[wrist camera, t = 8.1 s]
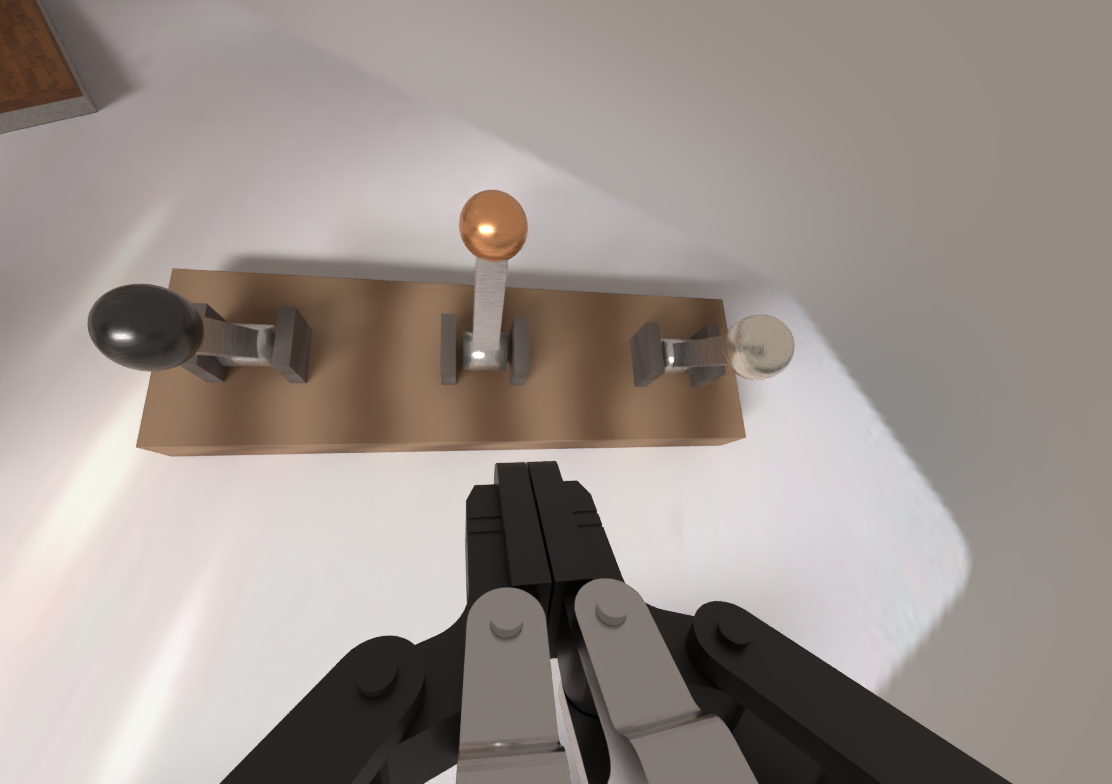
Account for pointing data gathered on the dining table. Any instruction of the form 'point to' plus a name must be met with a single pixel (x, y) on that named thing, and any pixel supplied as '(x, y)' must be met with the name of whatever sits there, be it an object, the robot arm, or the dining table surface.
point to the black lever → (171, 331)
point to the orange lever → (490, 272)
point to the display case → (36, 70)
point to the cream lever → (735, 349)
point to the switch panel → (437, 372)
